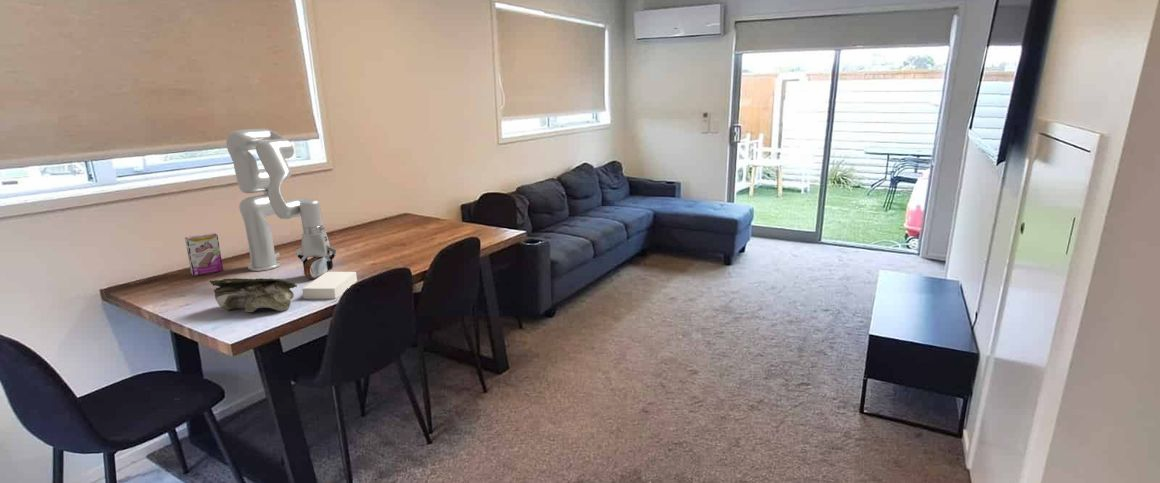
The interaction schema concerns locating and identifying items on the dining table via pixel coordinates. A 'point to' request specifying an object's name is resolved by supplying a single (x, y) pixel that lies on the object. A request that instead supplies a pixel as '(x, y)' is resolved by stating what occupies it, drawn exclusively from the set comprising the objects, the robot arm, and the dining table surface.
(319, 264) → the tin
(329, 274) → the plinth
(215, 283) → the hollow geode rock
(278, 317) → the dining table surface
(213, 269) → the candy bar box
